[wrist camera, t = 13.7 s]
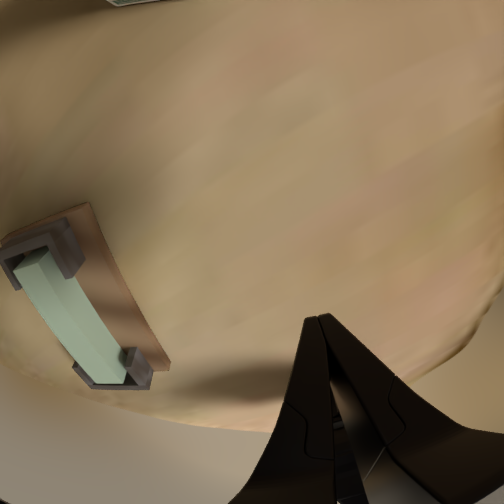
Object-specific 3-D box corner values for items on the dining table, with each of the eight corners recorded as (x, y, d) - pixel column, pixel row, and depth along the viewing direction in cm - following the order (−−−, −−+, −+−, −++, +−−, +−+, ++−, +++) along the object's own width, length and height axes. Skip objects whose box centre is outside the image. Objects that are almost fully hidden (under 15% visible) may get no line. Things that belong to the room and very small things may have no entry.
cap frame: (170, 361, 28) (165, 390, 25) (90, 365, 29) (81, 389, 26) (88, 201, 19) (64, 223, 16) (7, 234, 20) (-15, 255, 17)
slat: (130, 360, 26) (123, 383, 24) (104, 361, 27) (96, 383, 24) (56, 242, 19) (37, 262, 17) (31, 251, 20) (12, 271, 17)
